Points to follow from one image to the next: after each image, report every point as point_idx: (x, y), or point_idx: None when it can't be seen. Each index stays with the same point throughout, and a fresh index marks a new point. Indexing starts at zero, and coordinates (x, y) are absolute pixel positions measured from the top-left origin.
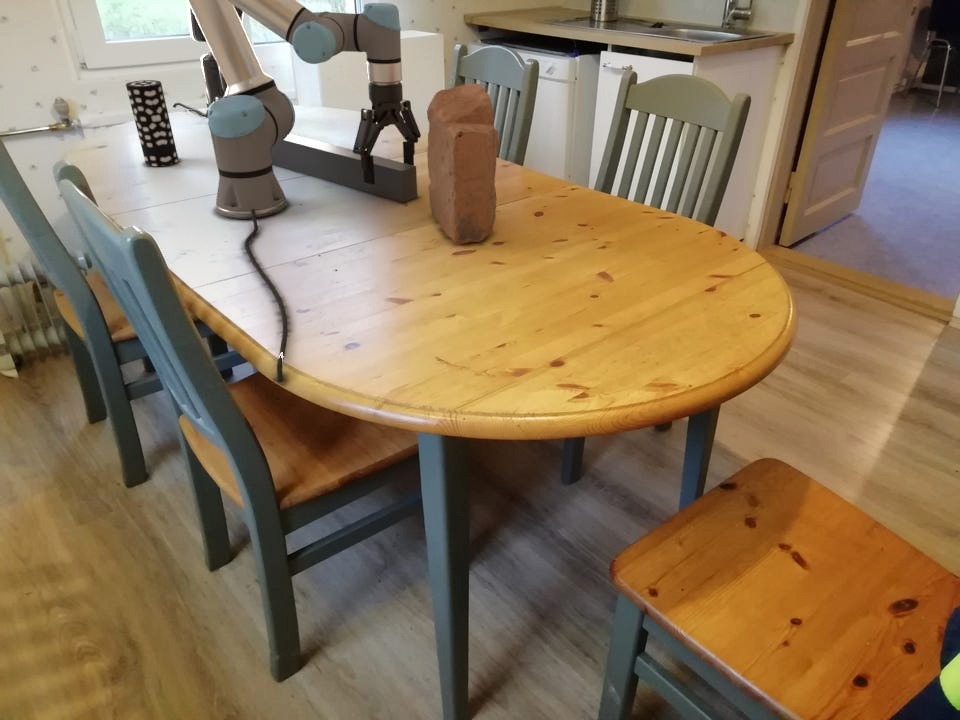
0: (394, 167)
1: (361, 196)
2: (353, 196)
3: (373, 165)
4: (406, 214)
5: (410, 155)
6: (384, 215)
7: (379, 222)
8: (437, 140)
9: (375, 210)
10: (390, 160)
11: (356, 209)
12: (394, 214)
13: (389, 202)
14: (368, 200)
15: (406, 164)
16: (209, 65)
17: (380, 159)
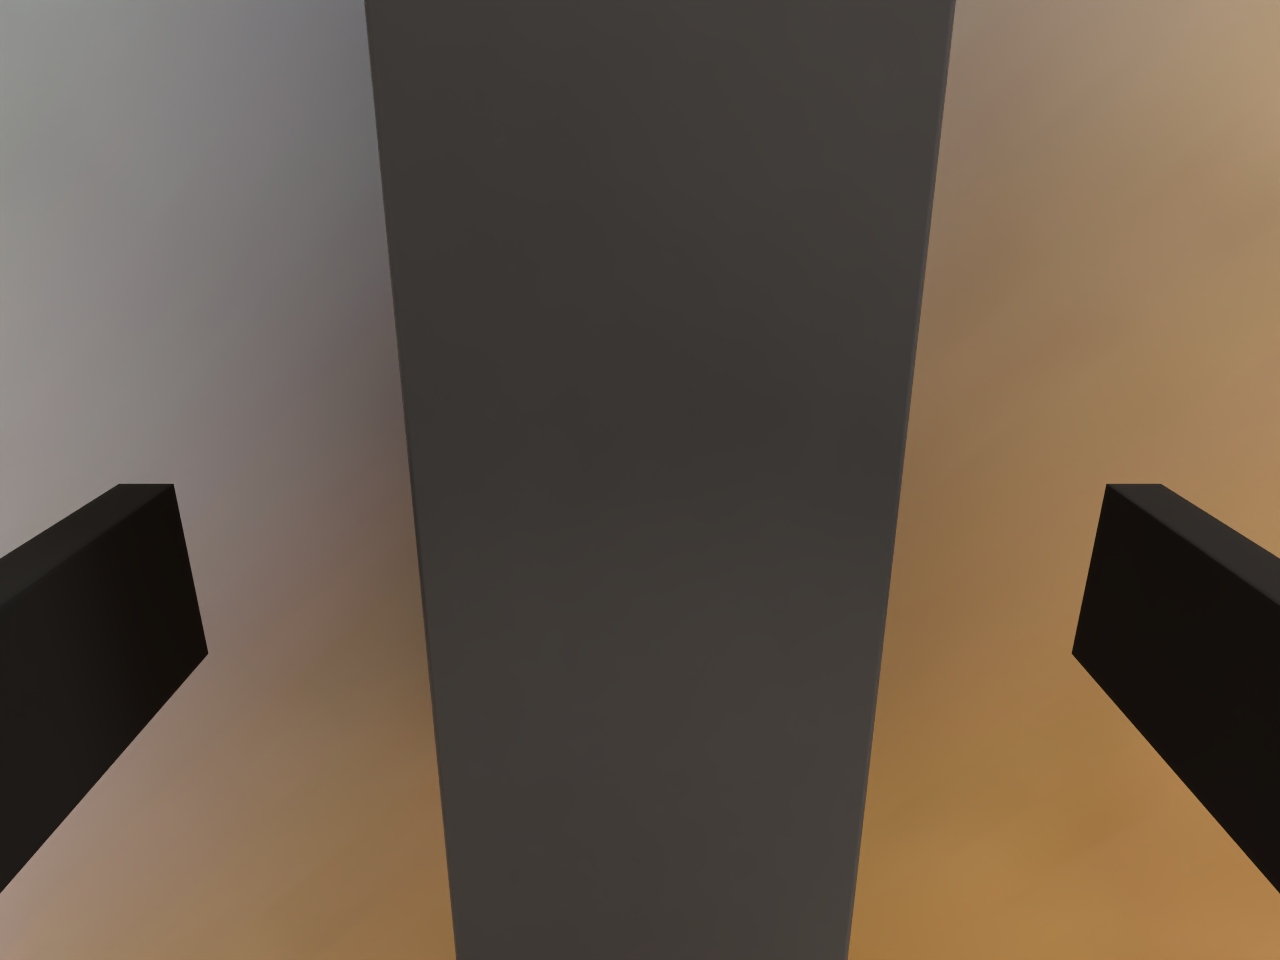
0: (530, 897)
1: (342, 209)
2: (261, 117)
3: (2, 882)
4: (337, 924)
5: (1242, 807)
6: (163, 808)
7: (21, 879)
8: None
9: None
10: (833, 572)
11: (24, 496)
12: (253, 855)
13: None
14: (313, 391)
15: (808, 938)
16: None
17: (755, 342)
